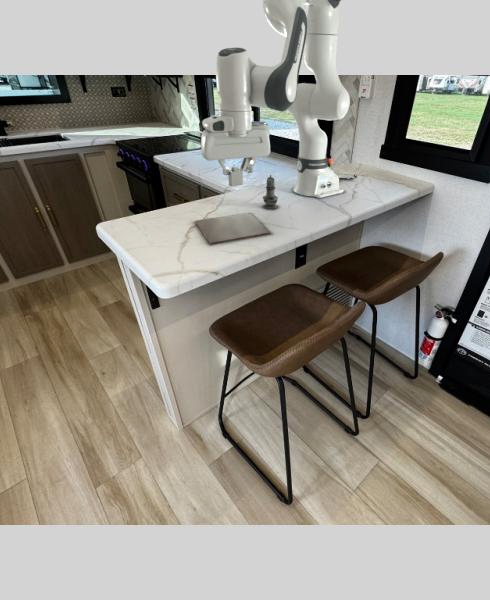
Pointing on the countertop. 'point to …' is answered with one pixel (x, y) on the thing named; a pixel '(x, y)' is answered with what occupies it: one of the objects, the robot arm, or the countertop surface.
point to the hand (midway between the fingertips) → (238, 173)
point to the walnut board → (231, 228)
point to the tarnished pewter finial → (270, 195)
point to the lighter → (238, 173)
